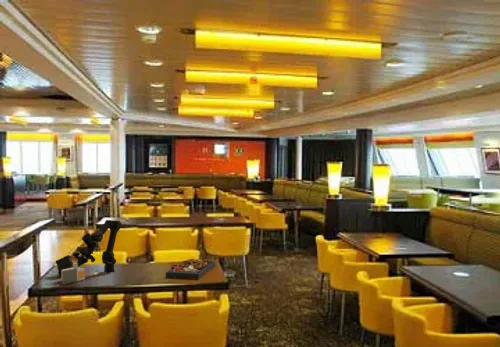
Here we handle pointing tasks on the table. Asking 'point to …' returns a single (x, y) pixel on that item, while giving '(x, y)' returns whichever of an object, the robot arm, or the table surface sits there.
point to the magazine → (64, 264)
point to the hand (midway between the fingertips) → (76, 267)
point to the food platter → (190, 269)
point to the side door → (70, 275)
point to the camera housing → (78, 273)
